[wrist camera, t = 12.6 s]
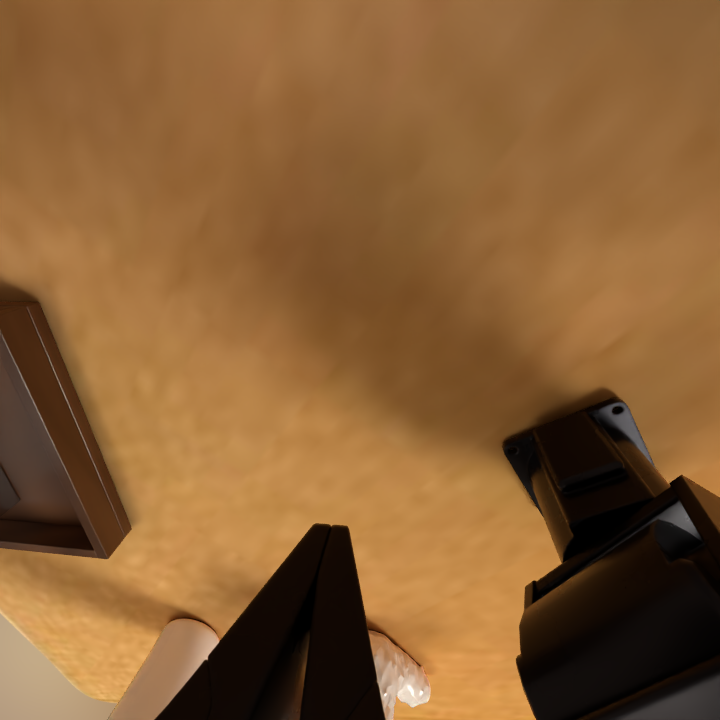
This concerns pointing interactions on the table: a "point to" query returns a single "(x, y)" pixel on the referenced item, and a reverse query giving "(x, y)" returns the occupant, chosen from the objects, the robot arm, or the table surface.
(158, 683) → the drinking glass
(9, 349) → the tray
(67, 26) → the table surface
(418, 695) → the sitting furry creature
